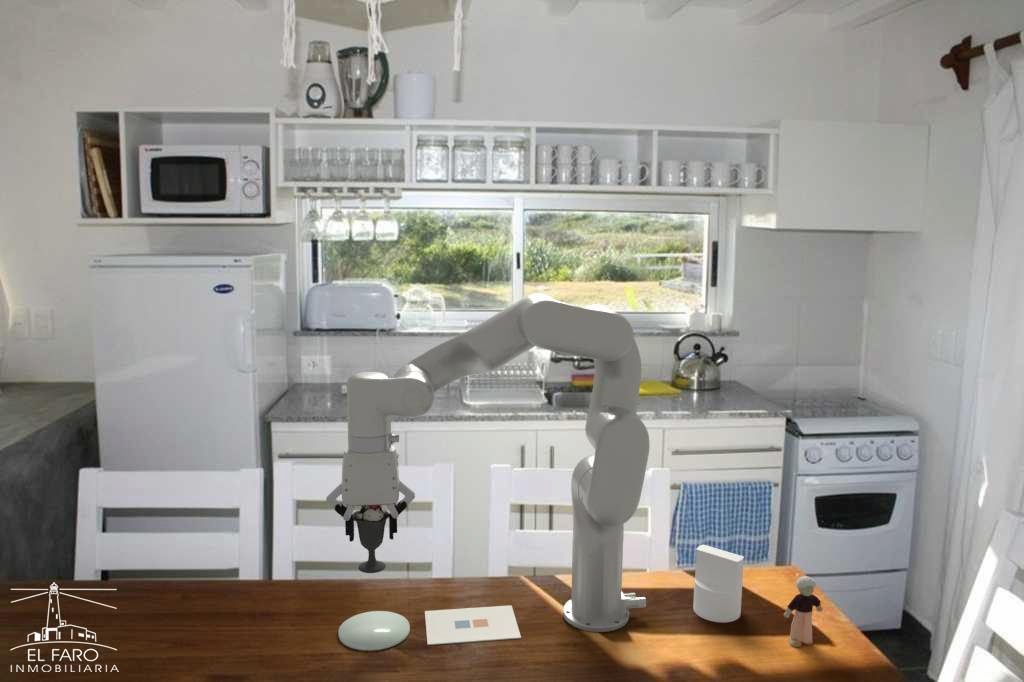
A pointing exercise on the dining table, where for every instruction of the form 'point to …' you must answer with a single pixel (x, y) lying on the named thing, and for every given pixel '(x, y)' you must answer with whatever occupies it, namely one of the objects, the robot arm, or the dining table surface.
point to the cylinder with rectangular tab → (718, 584)
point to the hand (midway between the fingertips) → (371, 536)
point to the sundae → (371, 534)
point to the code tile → (471, 625)
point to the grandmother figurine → (802, 612)
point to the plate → (374, 630)
